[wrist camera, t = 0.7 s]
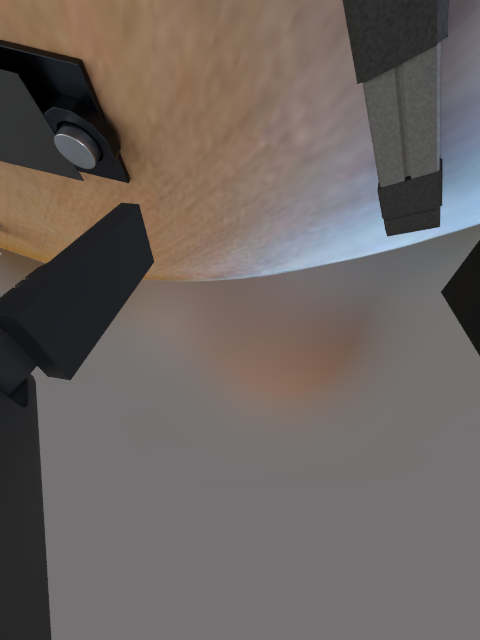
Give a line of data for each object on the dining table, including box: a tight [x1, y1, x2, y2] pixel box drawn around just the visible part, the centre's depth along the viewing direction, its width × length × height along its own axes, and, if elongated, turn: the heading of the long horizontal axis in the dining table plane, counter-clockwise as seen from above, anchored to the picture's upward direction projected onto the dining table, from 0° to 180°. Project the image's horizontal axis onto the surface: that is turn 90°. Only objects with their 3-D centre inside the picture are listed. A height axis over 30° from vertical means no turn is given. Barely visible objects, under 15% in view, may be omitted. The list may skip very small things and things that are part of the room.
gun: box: [343, 0, 449, 236], centre depth 19 cm, size 4×20×10 cm, turn 35°
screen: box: [0, 69, 84, 181], centre depth 28 cm, size 12×12×1 cm
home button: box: [54, 122, 101, 169], centre depth 28 cm, size 4×4×2 cm
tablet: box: [0, 40, 130, 183], centre depth 28 cm, size 19×13×2 cm
